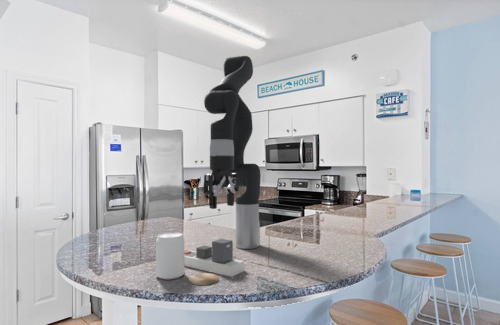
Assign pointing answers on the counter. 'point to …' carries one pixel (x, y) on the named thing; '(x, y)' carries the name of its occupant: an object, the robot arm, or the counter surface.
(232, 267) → the power strip
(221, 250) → the block
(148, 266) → the counter surface
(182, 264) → the beverage can
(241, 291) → the counter surface
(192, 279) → the coaster
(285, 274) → the counter surface
